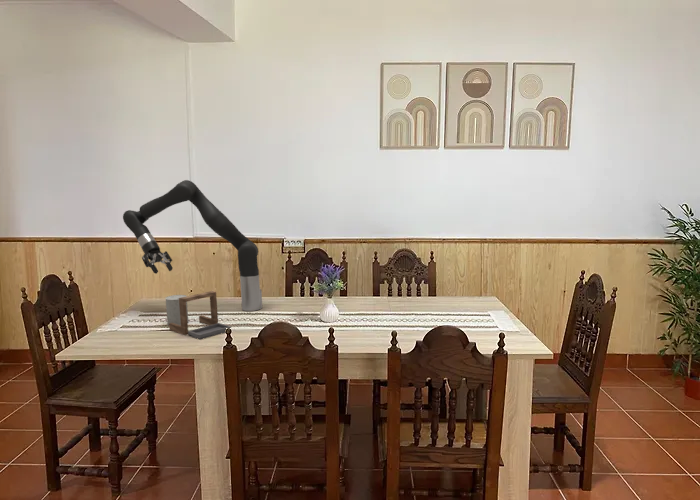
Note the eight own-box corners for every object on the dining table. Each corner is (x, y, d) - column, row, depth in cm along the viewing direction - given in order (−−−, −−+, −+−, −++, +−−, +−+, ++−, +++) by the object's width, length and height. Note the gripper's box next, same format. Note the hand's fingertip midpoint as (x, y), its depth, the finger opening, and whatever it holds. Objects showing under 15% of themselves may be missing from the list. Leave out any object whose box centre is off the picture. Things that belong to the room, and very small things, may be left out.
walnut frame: (202, 321, 292) (199, 288, 289) (218, 326, 283) (216, 291, 280) (169, 329, 280) (166, 294, 277) (185, 335, 271) (182, 299, 268)
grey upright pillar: (167, 326, 285) (165, 300, 283) (167, 321, 294) (165, 295, 292) (188, 324, 287) (186, 298, 285) (188, 319, 296) (186, 294, 294)
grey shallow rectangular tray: (219, 327, 282) (219, 322, 281) (231, 330, 275) (230, 326, 275) (188, 335, 270) (187, 331, 270) (199, 339, 264) (199, 335, 264)
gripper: (139, 241, 298) (155, 269, 294) (164, 238, 310) (179, 265, 306) (132, 250, 302) (148, 278, 298) (157, 247, 314) (172, 273, 309)
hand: (164, 271), depth 302 cm, fingers open, 8 cm apart
